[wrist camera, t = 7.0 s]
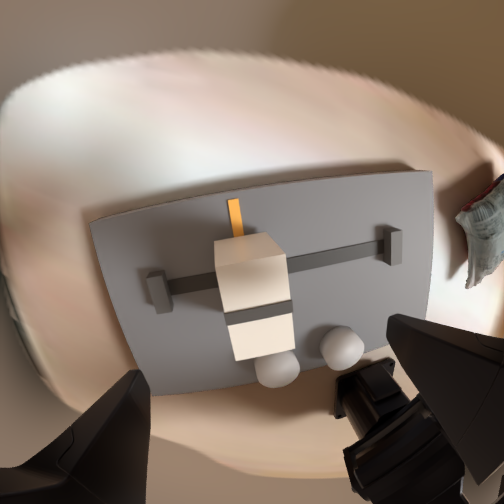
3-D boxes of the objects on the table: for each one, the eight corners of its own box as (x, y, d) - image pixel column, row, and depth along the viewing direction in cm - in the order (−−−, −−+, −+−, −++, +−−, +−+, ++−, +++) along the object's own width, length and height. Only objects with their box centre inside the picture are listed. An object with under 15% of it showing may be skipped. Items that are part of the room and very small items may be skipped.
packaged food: (506, 232, 23) (534, 242, 18) (454, 283, 23) (486, 301, 18) (496, 165, 20) (528, 169, 16) (441, 207, 20) (480, 216, 16)
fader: (266, 231, 16) (287, 254, 12) (276, 307, 17) (296, 349, 13) (213, 241, 16) (213, 268, 11) (228, 317, 17) (235, 362, 13)
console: (416, 169, 19) (446, 172, 15) (411, 320, 23) (433, 338, 20) (100, 217, 17) (77, 228, 13) (155, 380, 21) (149, 410, 17)
